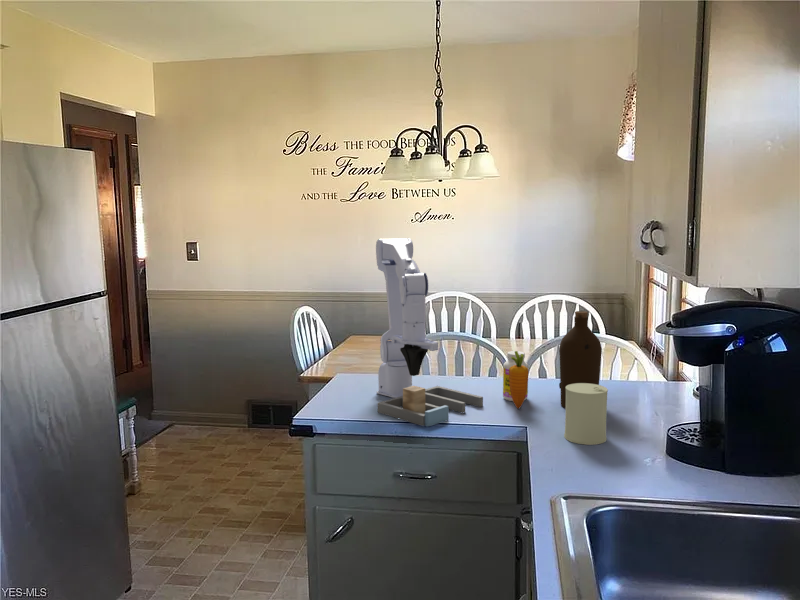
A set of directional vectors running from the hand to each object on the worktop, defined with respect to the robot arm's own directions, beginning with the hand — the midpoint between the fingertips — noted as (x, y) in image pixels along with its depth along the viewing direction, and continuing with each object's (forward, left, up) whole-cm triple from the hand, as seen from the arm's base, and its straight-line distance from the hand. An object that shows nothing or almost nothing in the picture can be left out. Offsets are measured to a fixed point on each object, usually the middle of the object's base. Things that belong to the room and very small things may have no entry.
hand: (414, 374), depth 165 cm
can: (+40, +14, -11) cm, 44 cm away
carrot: (+16, +22, -11) cm, 29 cm away
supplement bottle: (+10, +29, -11) cm, 33 cm away
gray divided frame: (0, +6, -10) cm, 12 cm away
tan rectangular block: (0, 0, -10) cm, 10 cm away
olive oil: (+26, +35, -11) cm, 45 cm away
